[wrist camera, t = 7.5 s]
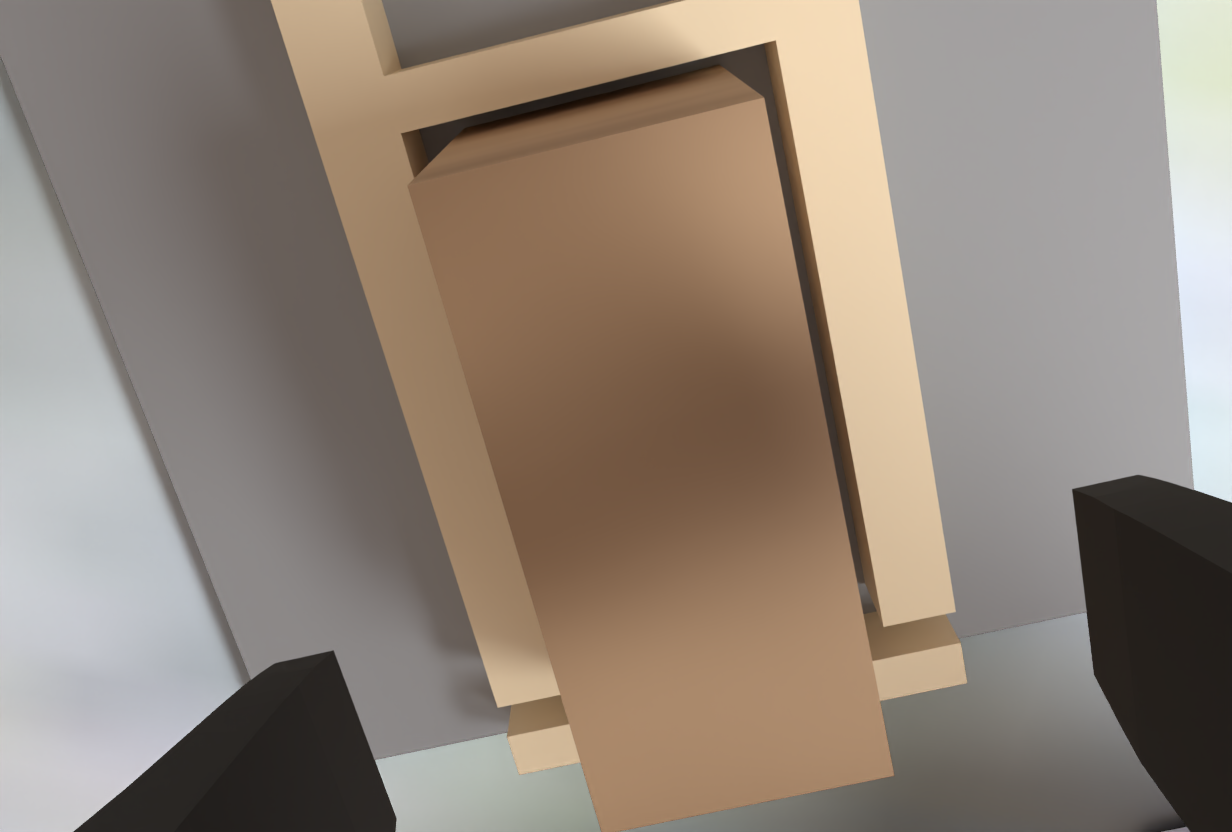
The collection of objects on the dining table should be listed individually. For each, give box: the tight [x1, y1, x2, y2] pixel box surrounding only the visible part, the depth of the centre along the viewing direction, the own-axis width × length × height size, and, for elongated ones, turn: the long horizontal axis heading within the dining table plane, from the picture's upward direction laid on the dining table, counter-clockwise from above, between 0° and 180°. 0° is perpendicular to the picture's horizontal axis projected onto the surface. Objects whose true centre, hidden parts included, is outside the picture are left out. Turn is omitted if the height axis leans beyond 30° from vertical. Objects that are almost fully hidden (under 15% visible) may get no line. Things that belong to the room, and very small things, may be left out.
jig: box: [0, 0, 1194, 775], centre depth 18 cm, size 19×17×2 cm
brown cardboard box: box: [407, 65, 894, 832], centre depth 17 cm, size 9×4×6 cm, turn 14°
